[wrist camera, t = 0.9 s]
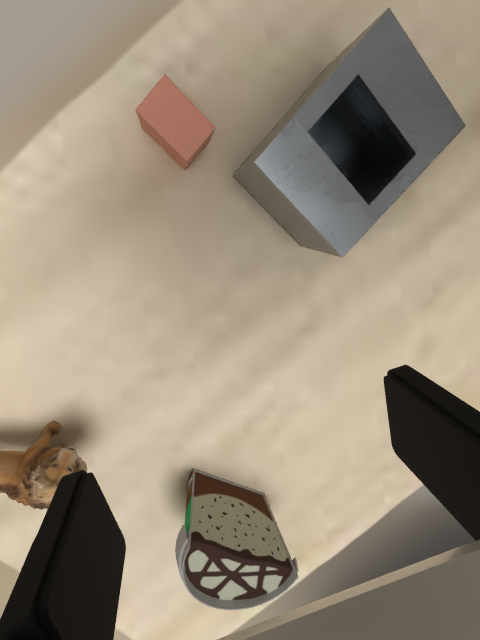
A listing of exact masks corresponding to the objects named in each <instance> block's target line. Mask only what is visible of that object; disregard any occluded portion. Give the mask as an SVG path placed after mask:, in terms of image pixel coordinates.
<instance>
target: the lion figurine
mask: <svg viewBox="0 0 480 640" xmlns="http://www.w3.org/2000/svg"><path fill="white" fill-rule="evenodd" d="M60 428H61V427H60V425H59V424H58V423H56V422H54V421H53V422H51V423H49V424H48V425H47V426H46V427H45V428H44V430H43V432H42V433H41V436H40V437H39V438H38V440H37V441H36V442H35V443H34V444H33V445H32V446H30V447H29V448H28V449H27V451H26V452H22V451H0V493H6V494H7V495H8V497H9V498H11V499H12V500H16V501H17V502H18V503H23V505H25V506H27V505H29V506H31V507H33V508H34V509H36V508H39V509H44V508H46V509H48V508H49V505H50V503H51V501H52V498H53V496H54V494H55V491H56V489H57V486H58V484H59V482H60V479H61V478H62V477H63V476H65V475H68V474H71V473H74V472H77V471H80V470H85V471H87V466H86V463H85V462H84V461H83V460H82V458H80V457H79V456H78V455H77V452H76V449H75V447H73V446H68V447H65V446H64V445H57V446H55V447H49V443H50V439H51V437H52V436H53V435H54V434H57V433H58V432H59V431H60Z"/></svg>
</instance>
